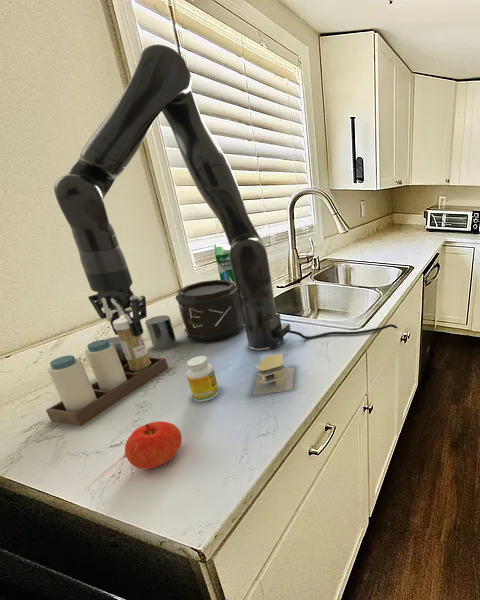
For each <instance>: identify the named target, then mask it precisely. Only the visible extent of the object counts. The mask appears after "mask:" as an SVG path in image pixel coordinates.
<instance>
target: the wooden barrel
mask: <svg viewBox="0 0 480 600" xmlns="http://www.w3.org/2000/svg"><path fill="white" fill-rule="evenodd" d="M175 300H176V301H177V303H178V308H179V309H178V310H179V312H180V313H179V314H180V317H181V320H182V322H183V325H184V327H185V328H184V331H185V333H186V335H187V337H188V338H189V339H192V342H196V343H203V344H204V343H205V344H207V343H208V344H209V343H215V342H220V341H225V340H227V339H229V338H232V337H235V336H236V335H238V334H239V333H240V332H241V331H242V330H243V328H244V325H245V324H244V320H243V315H242V310H241V305H240V300H239V295H238V290H237V287H236V286H235V285H234V283H232V282H231V281H228V280H221V279H213V280H204V281H199V282H195V283H192V284H188V285H185V286H184V287H182V288H180V289H179V290H178V294H176V296H175Z"/></svg>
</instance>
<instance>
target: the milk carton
mask: <svg viewBox="0 0 480 600" xmlns="http://www.w3.org/2000/svg"><path fill="white" fill-rule="evenodd" d="M213 246H214V247H213V248H214V256H215V260H216V261H215V262H216V266H217V270H218V274H219V278H220V279H219V280H228V281H231V282H232V283H234V285H235V280H234V276H233V272H232V267H231V262H230V256H229V252H230V245H229V242H228V243H217V244H214V245H213ZM235 286H236V285H235Z"/></svg>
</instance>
